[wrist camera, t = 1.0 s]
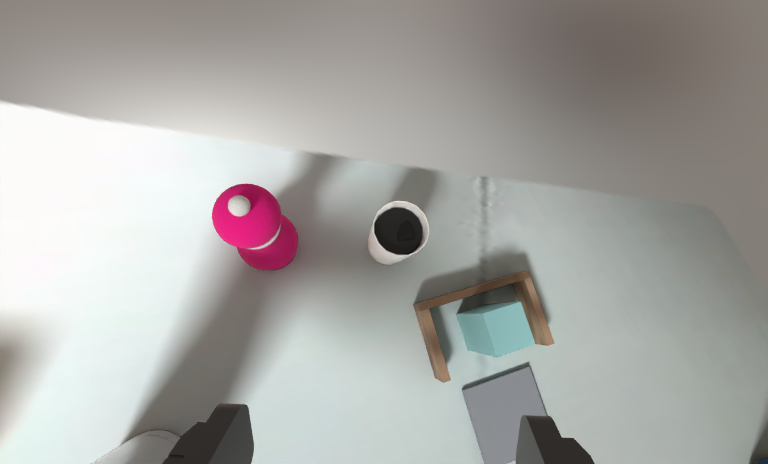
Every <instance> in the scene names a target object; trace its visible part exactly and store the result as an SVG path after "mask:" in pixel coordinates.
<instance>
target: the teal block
mask: <svg viewBox="0 0 768 464" xmlns="http://www.w3.org/2000/svg"><path fill="white" fill-rule="evenodd" d="M457 317H458V320H459V324H460V327H461V330H462V333H463V336H464V339H465V342H466V346H467V349H468V350H469V351H473V352H477V353H482V354H486V355H490V356H494V357H500V356H502V355H505V354H508V353H511V352H514V351H517V350H520V349H522V348H525V347H528V346H531V345H534V344H535V341H534V338H533V335H532V332H531V330H530V327H529V324H528V321H527V318H526V315H525V313H524V310H523V307H522V304H521V302H509V303H496V304H487V305H484V306H481V307H478V308H474V309H471V310H468V311H465V312H462V313H459V314H457Z"/></svg>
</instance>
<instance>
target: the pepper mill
mask: <svg viewBox="0 0 768 464" xmlns="http://www.w3.org/2000/svg"><path fill="white" fill-rule="evenodd" d="M212 220H213V225H214V227H215V229H216V231H217V233H218V234H219V236H220V237H221V238H222V239H223V240H224V241H226V242H227V243H228V244H230V245H233V246H236V247H237V249H238V252H239V254H240V256H241V257H242V258H243V260H244V261H245V262H246V263H248V264H249V265H250V266H252V267H254V268H256V269H260V270H277V269H281V268H283V267H285V266H286V265H288V264H289V263H290V262H291V261H292V260H293V258H294V256H295V254H296V250H297V246H298V235H297V232H296V229H295V227H294V226H293V224H292V223H291V222H290V221H289V220H288V219H287V218H286V217H285V216H283V215H281V210H280V206H279V204H278V202H277V200H276V199H275V197H274V196H273V195H272V194H271V193H270V192H269V191H267V190H266V189H264V188H262V187H260V186H257V185H253V184H239V185H235V186H232V187H230V188H228V189H227V190H225V191H224V192H223V193H222V194H221V195H220V196H219V197H218V199H217V200H216V202H215V204H214V207H213V212H212Z"/></svg>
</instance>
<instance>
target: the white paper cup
mask: <svg viewBox="0 0 768 464" xmlns="http://www.w3.org/2000/svg"><path fill="white" fill-rule="evenodd" d="M428 236H429V223H428V221H427V218H426V216H425V214H424V213H423V212H422V211H421V210H420V209H419V208H418V207H417V206H416V205H414V204H412V203H409V202H407V201H393V202H391V203H388V204H385V205H384V206H383V207H382V208H381V209H380V210H379V211H378V212H377V214H376V216H375V219H374V221H373V224H372V228H371V231H370V235H369V238H368V250H369V252H370V254H371V256H372V257H373V258H374V259H375V260H376V261H377V262H379V263H382V264H384V265H393V264H395V263H397V262H400V261H402V260H403V259H405V258H407V257H409V256H411V255H413V254H415V253H417V252H419V251H420V249H421V248H422V247H423V246H424V245H425V244H426V242H427V239H428Z"/></svg>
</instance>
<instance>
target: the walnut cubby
mask: <svg viewBox="0 0 768 464" xmlns="http://www.w3.org/2000/svg"><path fill="white" fill-rule="evenodd" d="M511 283H513V286H514V289H515V292H516V295H517V298H518V301H519V302H521V304H522V307H523V310H524V313H525V315H526V318H527V321H528V324H529V327H530V330H531V332H532V335H533V338H534V341H535V344H540V345H547V346H548V345H551V344H554V340H553V338H552V335H551V332H550V329H549V327H548V324H547V321H546V318H545V316H544V313H543V310H542V307H541V304H540V302H539V299H538V296H537V293H536V291H535V288H534V285H533V282H532V280H531V277H530V274H529V271H523V272H519V273H515V274H512V275H508V276H505V277H502V278H498V279H495V280H492V281H488V282H485V283H482V284H479V285H475V286H472V287H469V288H465V289H462V290H459V291H455V292H452V293H449V294H445V295H442V296H439V297H435V298H432V299H429V300H426V301H422V302H419V303H416V304H413V305H414V308H415V311H416V315H417V318H418V321H419V325H420V328H421V331H422V335H423V338H424V342H425V345H426V348H427V352H428V355H429V358H430V362H431V365H432V368H433V372H434V375H435V378H436V379H438V380H440V381H441V382H443V383H444V382H447V381H449V380H451V379H450V376H449V373H448V369H447V366H446V363H445V360H444V356H443V353H442V350H441V347H440V343H439V340H438V337H437V333H436V330H435V327H434V324H433V320H432V317H431V314H430V311H429V309H430V308H433V307H436V306H440V305H443V304H446V303H449V302H453V301H456V300H459V299H462V298H466V297H469V296H472V295H475V294H479V293H482V292H485V291H488V290H492V289H495V288H498V287H501V286H505V285H508V284H511Z"/></svg>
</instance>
